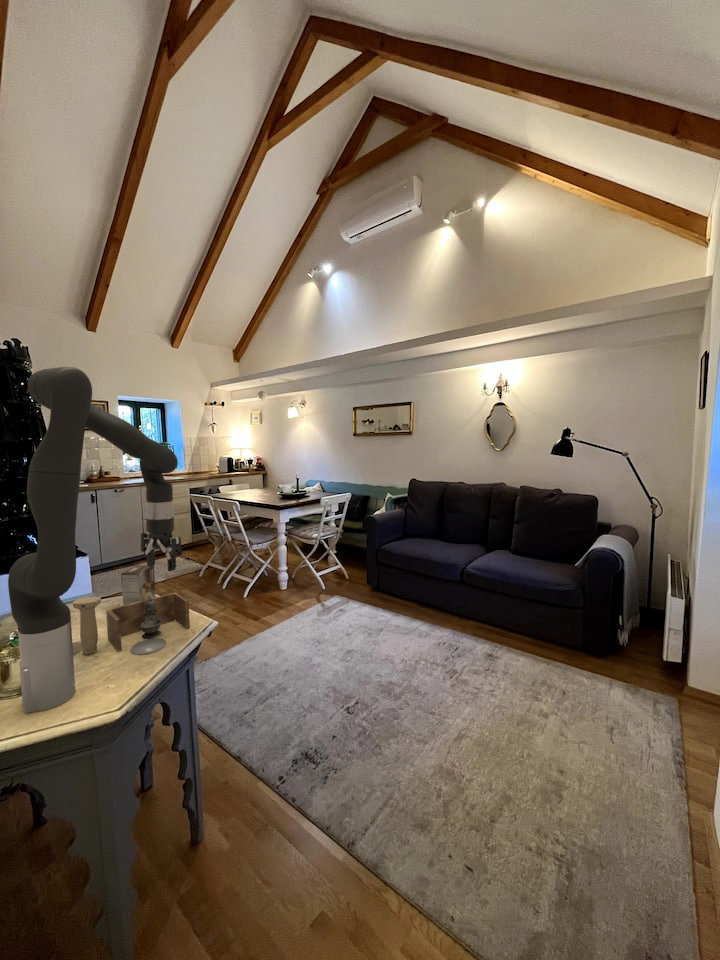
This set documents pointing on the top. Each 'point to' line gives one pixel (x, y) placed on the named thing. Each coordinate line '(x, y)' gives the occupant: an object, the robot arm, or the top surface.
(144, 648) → the coaster
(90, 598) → the turned wooden grip
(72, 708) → the top surface
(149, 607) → the grey metal upright piece
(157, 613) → the walnut cubby
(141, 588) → the coffee box
